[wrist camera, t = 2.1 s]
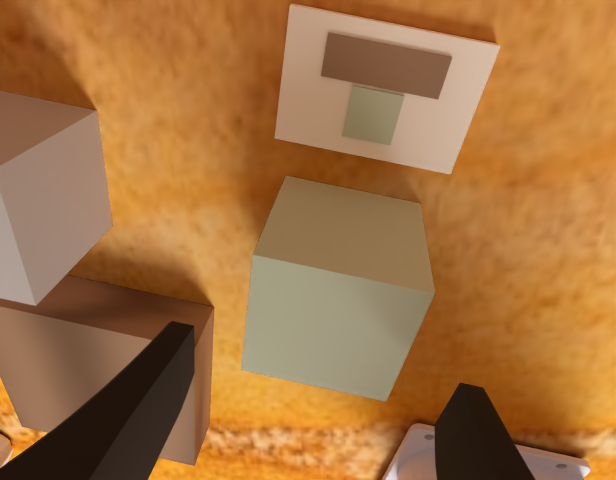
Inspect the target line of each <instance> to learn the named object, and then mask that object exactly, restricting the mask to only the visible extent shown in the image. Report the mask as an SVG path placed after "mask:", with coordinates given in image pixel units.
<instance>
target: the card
mask: <svg viewBox="0 0 616 480" xmlns="http://www.w3.org/2000/svg"><path fill="white" fill-rule="evenodd" d="M500 47H501V46H500V45H498V44H496V43H491V42H486V41H481V40H476V39H471V38H466V37H461V36H456V35H451V34H446V33H441V32H435V31H430V30H425V29H420V28H415V27H410V26H405V25H400V24H395V23H390V22H385V21H380V20H375V19H370V18H364V17H359V16H354V15H349V14H344V13H339V12H334V11H329V10H324V9H319V8H314V7H309V6H304V5H299V4H293V3H292V4H290V8H289V16H288V25H287V34H286V42H285V51H284V60H283V68H282V77H281V86H280V94H279V103H278V112H277V120H276V129H275V138H274V139H279V140H284V141H289V142H294V143H299V144H304V145H308V146H313V147H318V148H323V149H328V150H333V151H338V152H343V153H347V154H352V155H357V156H362V157H367V158H372V159H377V160H382V161H386V162H391V163H396V164H401V165H406V166H411V167H416V168H420V169H425V170H430V171H435V172H440V173H445V174H451V172H452V169H453V167H454V164H455V162H456V159H457V156H458V154H459V151H460V149H461V146H462V144H463V141H464V139H465V136H466V134H467V131H468V128H469V126H470V123H471V121H472V118H473V116H474V113H475V111H476V108H477V106H478V103H479V101H480V98H481V95H482V93H483V90H484V88H485V85H486V83H487V80H488V78H489V75H490V73H491V70H492V67H493V65H494V62H495V60H496V57H497V55H498V52H499V50H500Z"/></svg>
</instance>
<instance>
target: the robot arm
mask: <svg viewBox="0 0 616 480" xmlns="http://www.w3.org/2000/svg"><path fill="white" fill-rule="evenodd" d="M194 373H195V341H194V325H189V324H184V323H180V322H175V321H171V322H169V323H168V324H167V325H166V326H165V327H164V328H163V329H162V331H161V332H160V333H159V334H158V335H157V336H156V337H155V338H154V339H153V340H152V341H151V342H150V343H149V344H148V345H147V346H146V347H145V348H144V349H143V350H142V351H141V352H140V353H139V354H138V355H137V356H136V357H135V358H134V359H133V360H132V361H131V362H130V363H129V364H128V365H127V366H126V367H125V368H124V369H123V370H122V371H120V372H119V373H118V374H117V375H116V376H115V377H114V378H113V379H112V380H111V381H110V382H109V383H108V384H107V385H105V386H104V387H103V388H102V389H101V390H100V391H99V392H97V393H96V394H95V395H94V396H93V397H92V398H90V399H89V400H88V401H87V402H86V403H85V404H83V405H82V406H81V407H80V408H79V409H78V410H76V411H75V412H74V413H73V414H72V415H70V416H69V417H68V418H67V419H65V420H64V421H63V422H62V423H60V424H59V425H58V426H57V427H55V428H54V429H53V430H52V431H50V432H49V433H48V434H46V435H45V436H44V437H42V438H41V439H40V440H38V441H37V442H36V443H34V444H33V445H32V446H30V447H29V448H28V449H26V450H25V451H23V452H22V453H21V454H19V455H18V456H16V457H15V458H14V459H12V460H11V461H9V462H8V463H6V464H5V465H4V466H2V467H1V468H0V480H148V478H149V476H150V474H151V472H152V470H153V468H154V466H155V464H156V461H157V459H158V457H159V455H160V453H161V451H162V449H163V447H164V445H165V443H166V441H167V439H168V437H169V435H170V433H171V431H172V428H173V426H174V424H175V422H176V420H177V418H178V416H179V414H180V412H181V410H182V407H183V404H184V401H185V399H186V396H187V393H188V390H189V388H190V385H191V382H192V379H193V376H194ZM590 470H591V468H590V466H589V463H588V462H587V461H586V460H584V459H580V458H576V457H571V456H567V455H562V454H558V453H553V452H549V451H544V450H540V449H535V448H531V447H526V446H521V445H517V444H514V442H513V440H512V438H511V437H510V435H509V433H508V431H507V430H506V428H505V426H504V424H503V422H502V421H501V419H500V417H499V415H498V413H497V411H496V410H495V408H494V406H493V404H492V402H491V401H490V399H489V397H488V395H487V393H486V392H485V390H484V388H482V387H478V386H473V385H468V384H464V383H460V384H459V386H458V387H457V389H456V391H455V392H454V394H453V396H452V397H451V399H450V401H449V402H448V404H447V405H446V407H445V409H444V410H443V412H442V414H441V415H440V417H439V419H438V420H437V422H436V424H435V426H431V425H426V424H421V423H417V424H413V425H412V426H411V427H410V428H409V430H408V432H407V434H406V436H405V438H404V439H403V441H402V443H401V445H400V447H399V449H398V450H397V452H396V454H395V456H394V458H393V460H392V461H391V463H390V465H389V467H388V469H387V471H386V473H385V474H384V476H383V478H382V480H584V478H583V477H585V476H586V475H587V474H588V473H589V472H590Z"/></svg>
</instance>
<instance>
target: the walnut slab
mask: <svg viewBox="0 0 616 480" xmlns="http://www.w3.org/2000/svg"><path fill="white" fill-rule="evenodd" d="M171 321H175V322H180V323H184V324H189V325H194V341H195V373H194V376H193V379H192V382H191V385H190V388H189V390H188V393H187V396H186V399H185V401H184V404H183V407H182V410H181V412H180V414H179V416H178V418H177V420H176V422H175V424H174V426H173V428H172V431H171V433H170V435H169V437H168V439H167V441H166V443H165V445H164V447H163V449H162V451H161V453H160V455H159V457H158V458H162V459H167V460H171V461H175V462H180V463H184V464H189V465H193V466H195V463H196V460H197V457H198V454H199V452H200V449H201V446H202V443H203V441H204V438H205V435H206V432H207V430H208V427H209V424H210V402H211V376H212V351H213V326H214V307H212V306H208V305H203V304H198V303H194V302H189V301H185V300H180V299H175V298H171V297H166V296H162V295H157V294H152V293H148V292H143V291H139V290H134V289H130V288H125V287H120V286H116V285H111V284H107V283H102V282H97V281H93V280H88V279H84V278H79V277H74V276H70V275H65V276H64V277H63V278H62V279H61V280H60V281H59V282H58V284H57V285H56V286H55V287H54V288H53V289H52V290H51V291H50V292H49V293H48V294H47V295H46V296H45V297H44V298H43V299H42V300H41V301H40V302H39V303H38V304H37V305H36V306H34V305H29V304H25V303H20V302H16V301H11V300H6V299H2V298H0V377H1V379H2V382H3V384H4V386H5V389H6V391H7V393H8V395H9V398H10V400H11V402H12V405H13V407H14V409H15V411H16V414H17V416H18V418H19V421H20V423H21V425H22V427H26V428H31V429H35V430H40V431H44V432H48V433H49V432H50V431H52V430H53V429H54V428H55V427H57V426H58V425H59V424H60V423H62V422H63V421H64V420H65V419H67V418H68V417H69V416H70V415H72V414H73V413H74V412H75V411H76V410H78V409H79V408H80V407H81V406H82V405H83V404H85V403H86V402H87V401H88V400H89V399H90V398H92V397H93V396H94V395H95V394H96V393H97V392H99V391H100V390H101V389H102V388H103V387H104V386H105V385H107V384H108V383H109V382H110V381H111V380H112V379H113V378H114V377H115V376H116V375H117V374H118V373H119V372H120V371H122V370H123V369H124V368H125V367H126V366H127V365H128V364H129V363H130V362H131V361H132V360H133V359H134V358H135V357H136V356H137V355H138V354H139V353H140V352H141V351H142V350H143V349H144V348H145V347H146V346H147V345H148V344H149V343H150V342H151V341H152V340H153V339H154V338H155V337H156V336H157V335H158V334H159V333H160V332H161V331H162V329H163V328H164V327H165V326H166V325H167V324H168V323H169V322H171Z"/></svg>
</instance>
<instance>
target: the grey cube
mask: <svg viewBox="0 0 616 480" xmlns="http://www.w3.org/2000/svg"><path fill="white" fill-rule="evenodd" d="M112 226H113V223H112V215H111V208H110V201H109V193H108V186H107V179H106V172H105V164H104V157H103V150H102V143H101V135H100V128H99V121H98V114H97V110H92V109H87V108H82V107H77V106H73V105H68V104H63V103H58V102H53V101H48V100H43V99H39V98H34V97H29V96H24V95H19V94H14V93H10V92H5V91H0V298H2V299H6V300H11V301H16V302H20V303H25V304H29V305H34V306H36V305H37V304H38V303H39V302H40V301H41V300H42V299H43V298H44V297H45V296H46V295H47V294H48V293H49V292H50V291H51V290H52V289H53V288H54V287H55V286H56V285H57V284H58V282H59V281H60V280H61V279H62V278H63V277H64V276H65V275H66V274H67V273H68V272H69V271H70V270H71V269H72V268H73V267H74V266H75V265H76V264H77V263H78V262H79V261H80V260H81V259H82V258H83V257H84V255H85V254H86V253H87V252H88V251H89V250H90V249H91V248H92V247H93V246H94V245H95V244H96V243H97V242H98V241H99V240H100V239H101V238H102V237H103V236H104V235H105V234H106V233H107V232H108V231H109V230H110V228H111V227H112Z"/></svg>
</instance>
